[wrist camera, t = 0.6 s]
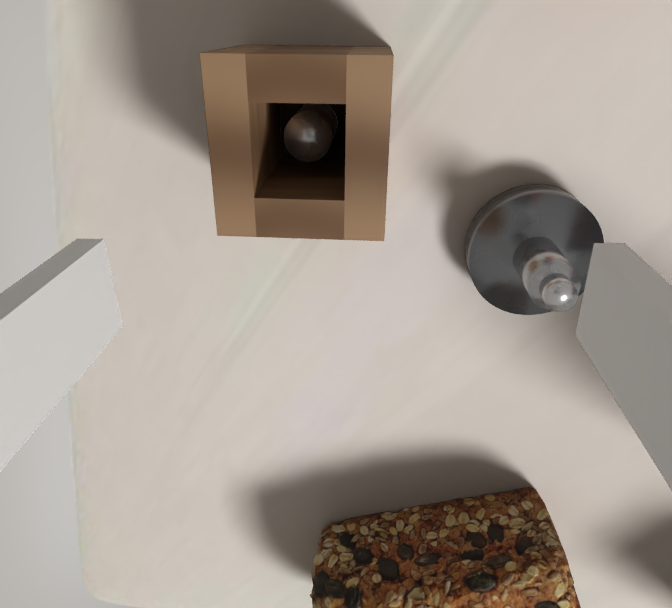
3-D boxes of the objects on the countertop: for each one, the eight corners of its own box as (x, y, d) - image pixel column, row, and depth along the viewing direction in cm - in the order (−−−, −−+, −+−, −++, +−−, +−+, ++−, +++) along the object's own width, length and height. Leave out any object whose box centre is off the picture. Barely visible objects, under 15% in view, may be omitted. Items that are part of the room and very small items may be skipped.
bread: (350, 594, 51) (344, 716, 42) (314, 514, 46) (299, 631, 37) (559, 567, 47) (600, 694, 38) (542, 476, 43) (584, 597, 34)
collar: (242, 45, 30) (199, 53, 23) (390, 46, 29) (393, 55, 22) (251, 189, 34) (217, 235, 26) (383, 193, 33) (384, 240, 26)
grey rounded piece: (295, 100, 31) (282, 112, 27) (337, 101, 31) (331, 113, 27) (296, 143, 32) (284, 161, 28) (337, 144, 32) (331, 162, 28)
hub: (472, 182, 32) (495, 222, 26) (605, 185, 32) (661, 227, 26) (458, 297, 36) (475, 358, 30) (577, 302, 35) (620, 364, 29)
